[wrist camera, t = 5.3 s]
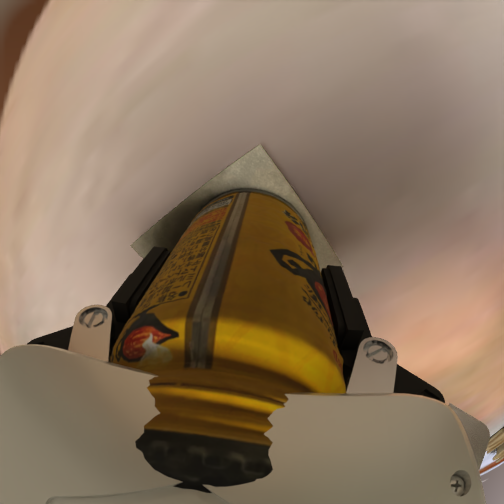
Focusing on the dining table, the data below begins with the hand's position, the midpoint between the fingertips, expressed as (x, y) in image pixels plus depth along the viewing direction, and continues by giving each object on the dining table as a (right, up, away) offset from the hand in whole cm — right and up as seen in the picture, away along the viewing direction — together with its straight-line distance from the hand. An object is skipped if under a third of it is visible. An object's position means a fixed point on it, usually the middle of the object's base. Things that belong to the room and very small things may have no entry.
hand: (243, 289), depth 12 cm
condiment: (-1, +2, +3) cm, 3 cm away
